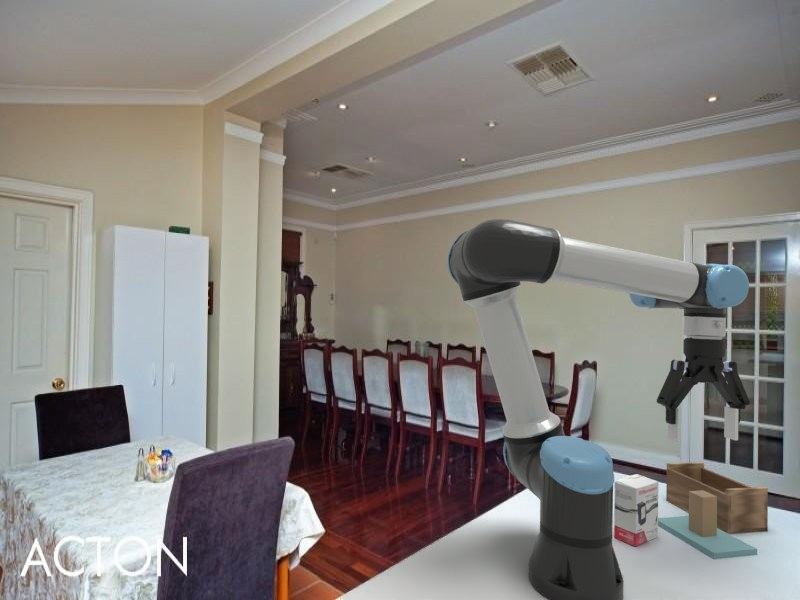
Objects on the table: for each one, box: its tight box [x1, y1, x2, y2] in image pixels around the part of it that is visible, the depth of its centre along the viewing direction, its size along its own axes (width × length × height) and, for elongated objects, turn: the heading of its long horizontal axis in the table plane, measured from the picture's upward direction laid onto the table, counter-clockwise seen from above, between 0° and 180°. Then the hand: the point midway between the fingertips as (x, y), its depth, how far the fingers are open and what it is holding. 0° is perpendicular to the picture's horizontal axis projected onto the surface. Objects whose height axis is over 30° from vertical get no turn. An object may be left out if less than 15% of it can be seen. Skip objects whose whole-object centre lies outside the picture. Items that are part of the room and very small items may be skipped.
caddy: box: [665, 461, 769, 535], centre depth 111 cm, size 10×18×9 cm, turn 10°
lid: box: [658, 490, 758, 560], centre depth 99 cm, size 10×15×10 cm, turn 12°
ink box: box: [613, 473, 659, 547], centre depth 99 cm, size 8×5×12 cm, turn 123°
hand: (703, 439), depth 100 cm, fingers open, 13 cm apart
